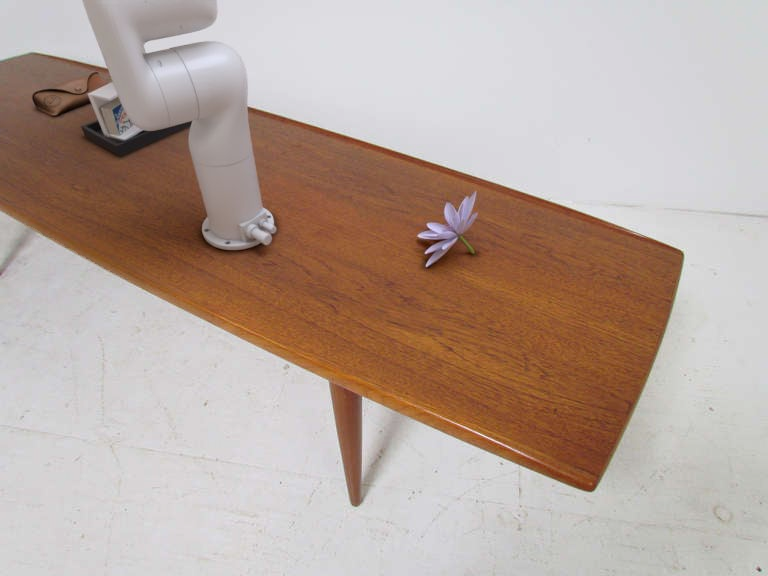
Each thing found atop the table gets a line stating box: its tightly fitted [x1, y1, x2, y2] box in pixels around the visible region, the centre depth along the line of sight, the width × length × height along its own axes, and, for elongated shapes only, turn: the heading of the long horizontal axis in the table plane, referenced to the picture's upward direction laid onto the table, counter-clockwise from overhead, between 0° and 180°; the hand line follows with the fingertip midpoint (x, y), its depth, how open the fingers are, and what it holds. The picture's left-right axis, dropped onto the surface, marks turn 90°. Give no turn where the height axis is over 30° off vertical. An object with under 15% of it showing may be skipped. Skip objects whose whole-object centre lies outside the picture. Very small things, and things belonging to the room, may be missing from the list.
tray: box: [80, 119, 192, 158], centre depth 115 cm, size 14×24×3 cm, turn 143°
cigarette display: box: [88, 81, 143, 141], centre depth 111 cm, size 20×6×9 cm, turn 157°
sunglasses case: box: [31, 71, 110, 117], centre depth 124 cm, size 18×7×7 cm
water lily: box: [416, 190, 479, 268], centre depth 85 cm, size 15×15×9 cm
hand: (139, 97), depth 111 cm, fingers closed on cigarette display, 6 cm apart
